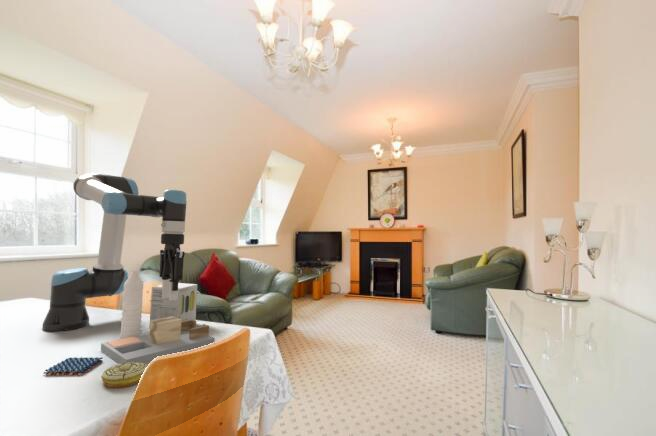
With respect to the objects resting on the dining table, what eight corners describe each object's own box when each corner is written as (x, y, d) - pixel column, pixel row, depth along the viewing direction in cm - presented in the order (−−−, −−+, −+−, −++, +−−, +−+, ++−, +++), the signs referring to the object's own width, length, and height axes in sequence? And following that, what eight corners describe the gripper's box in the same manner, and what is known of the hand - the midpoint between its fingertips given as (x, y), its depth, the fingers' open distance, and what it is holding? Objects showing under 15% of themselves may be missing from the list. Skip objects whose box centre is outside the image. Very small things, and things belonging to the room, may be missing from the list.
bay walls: (174, 332, 123) (174, 323, 123) (191, 328, 129) (192, 319, 129) (190, 339, 116) (191, 329, 116) (208, 335, 121) (209, 325, 121)
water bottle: (119, 341, 119) (123, 272, 121) (121, 335, 125) (125, 270, 126) (146, 338, 123) (150, 271, 125) (147, 333, 129) (150, 269, 130)
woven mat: (67, 363, 100) (67, 356, 100) (104, 363, 101) (104, 356, 101) (40, 378, 89) (41, 370, 89) (81, 377, 90) (82, 370, 90)
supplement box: (176, 332, 132) (179, 288, 133) (148, 329, 135) (151, 286, 136) (196, 323, 145) (198, 283, 146) (170, 321, 148) (172, 282, 149)
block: (149, 340, 113) (150, 320, 113) (172, 335, 119) (173, 316, 120) (157, 344, 109) (158, 323, 110) (180, 339, 116) (181, 319, 116)
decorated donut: (127, 370, 95) (128, 357, 95) (156, 376, 92) (157, 362, 92) (91, 385, 85) (92, 370, 85) (122, 392, 82) (123, 377, 82)
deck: (100, 350, 109) (101, 342, 109) (184, 332, 132) (184, 325, 132) (125, 368, 96) (126, 359, 96) (214, 344, 118) (214, 337, 119)
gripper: (151, 232, 120) (147, 296, 118) (174, 233, 109) (170, 304, 107) (171, 233, 126) (168, 294, 124) (195, 234, 115) (192, 301, 113)
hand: (169, 298), depth 116 cm, fingers open, 5 cm apart
